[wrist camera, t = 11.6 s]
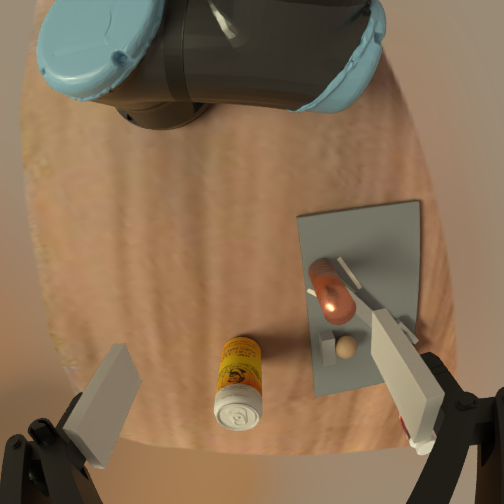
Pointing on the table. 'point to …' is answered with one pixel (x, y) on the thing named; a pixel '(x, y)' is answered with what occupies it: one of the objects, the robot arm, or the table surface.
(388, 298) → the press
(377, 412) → the table surface
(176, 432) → the table surface
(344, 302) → the lever
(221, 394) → the beer can
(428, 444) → the pill bottle
